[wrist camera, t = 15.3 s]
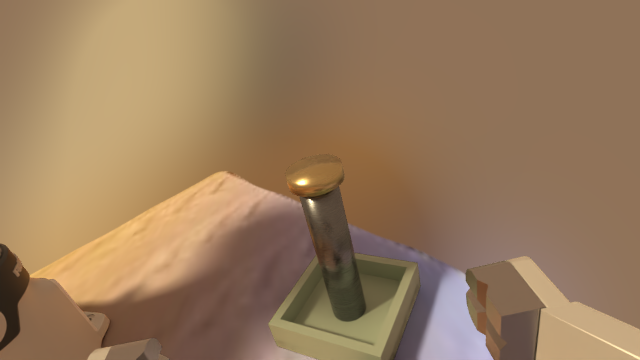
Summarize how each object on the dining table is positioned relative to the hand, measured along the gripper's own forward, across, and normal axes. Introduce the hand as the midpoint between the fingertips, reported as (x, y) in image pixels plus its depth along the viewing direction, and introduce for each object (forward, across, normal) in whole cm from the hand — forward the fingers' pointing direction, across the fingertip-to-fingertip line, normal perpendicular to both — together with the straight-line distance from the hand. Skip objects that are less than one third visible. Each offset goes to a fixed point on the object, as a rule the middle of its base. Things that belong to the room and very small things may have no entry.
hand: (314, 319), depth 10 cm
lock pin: (+19, +1, -20) cm, 28 cm away
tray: (+19, +1, -21) cm, 29 cm away
